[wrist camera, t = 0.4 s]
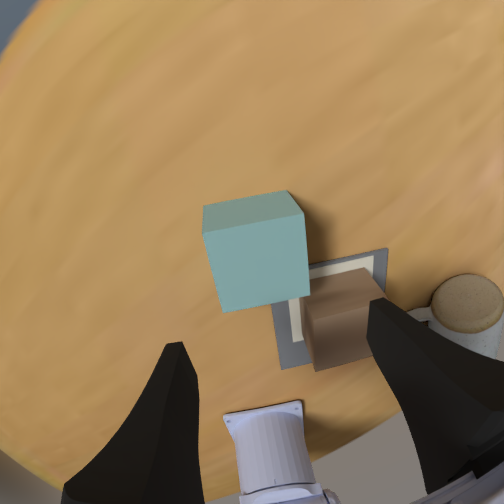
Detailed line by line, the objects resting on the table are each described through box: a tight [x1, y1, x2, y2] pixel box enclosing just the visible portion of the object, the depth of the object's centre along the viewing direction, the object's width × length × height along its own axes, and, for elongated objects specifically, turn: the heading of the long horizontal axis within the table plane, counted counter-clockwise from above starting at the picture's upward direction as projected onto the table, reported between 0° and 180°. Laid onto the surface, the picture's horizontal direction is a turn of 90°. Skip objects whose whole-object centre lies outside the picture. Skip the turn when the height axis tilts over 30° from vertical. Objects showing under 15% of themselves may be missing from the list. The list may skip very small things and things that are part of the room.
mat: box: [271, 248, 388, 370], centre depth 24 cm, size 10×9×1 cm
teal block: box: [202, 190, 310, 313], centre depth 18 cm, size 5×5×4 cm
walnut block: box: [299, 267, 389, 372], centre depth 21 cm, size 5×5×4 cm
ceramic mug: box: [406, 274, 504, 359], centre depth 22 cm, size 11×8×8 cm
